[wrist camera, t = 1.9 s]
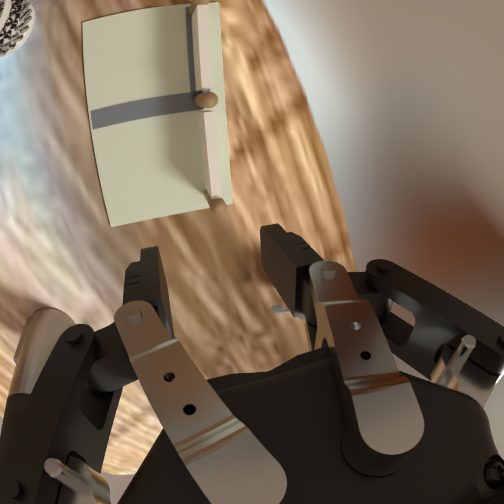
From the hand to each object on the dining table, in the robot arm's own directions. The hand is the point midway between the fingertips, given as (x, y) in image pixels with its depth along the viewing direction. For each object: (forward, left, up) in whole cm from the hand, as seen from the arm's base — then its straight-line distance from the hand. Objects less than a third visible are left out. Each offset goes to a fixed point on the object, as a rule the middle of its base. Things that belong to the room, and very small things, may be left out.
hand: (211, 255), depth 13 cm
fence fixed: (+4, +12, -27) cm, 30 cm away
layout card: (-1, +5, -27) cm, 28 cm away
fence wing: (+4, -1, -26) cm, 27 cm away
